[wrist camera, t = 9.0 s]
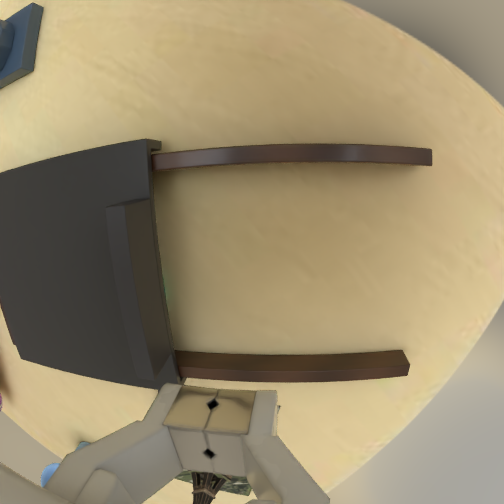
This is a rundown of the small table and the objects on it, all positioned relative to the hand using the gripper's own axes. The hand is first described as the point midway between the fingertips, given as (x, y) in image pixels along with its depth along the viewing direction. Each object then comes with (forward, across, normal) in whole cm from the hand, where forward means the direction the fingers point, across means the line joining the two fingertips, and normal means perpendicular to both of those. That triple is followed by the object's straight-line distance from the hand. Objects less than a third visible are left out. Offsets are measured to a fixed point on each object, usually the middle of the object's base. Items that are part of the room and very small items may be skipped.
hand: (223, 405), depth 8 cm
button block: (+13, +23, -20) cm, 33 cm away
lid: (+13, +14, 0) cm, 19 cm away
